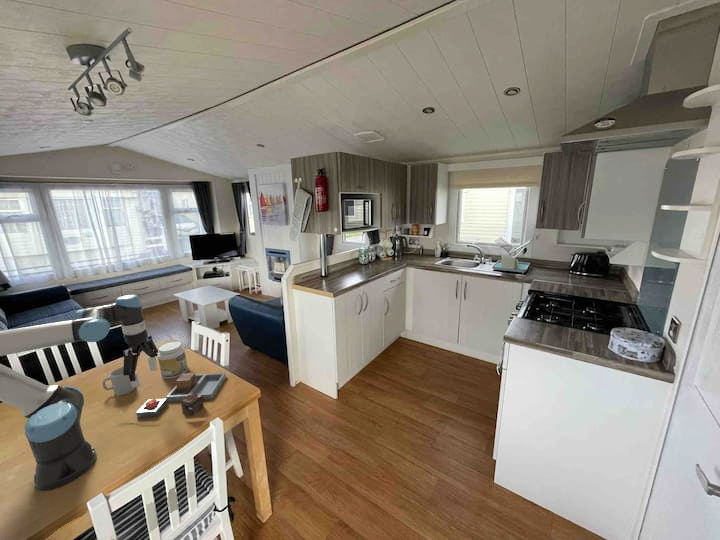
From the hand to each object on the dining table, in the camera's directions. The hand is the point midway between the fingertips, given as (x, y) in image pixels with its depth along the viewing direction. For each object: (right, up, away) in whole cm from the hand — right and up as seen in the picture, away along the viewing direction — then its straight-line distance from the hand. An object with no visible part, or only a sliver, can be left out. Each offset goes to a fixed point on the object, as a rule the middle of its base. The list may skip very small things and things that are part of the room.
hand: (145, 377), depth 120 cm
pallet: (+12, -14, +19) cm, 26 cm away
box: (+18, -17, +5) cm, 26 cm away
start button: (0, -16, +4) cm, 16 cm away
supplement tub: (-9, -11, +33) cm, 36 cm away
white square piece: (0, -17, +4) cm, 18 cm away
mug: (-27, -14, +19) cm, 36 cm away
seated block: (+7, -13, +18) cm, 23 cm away
